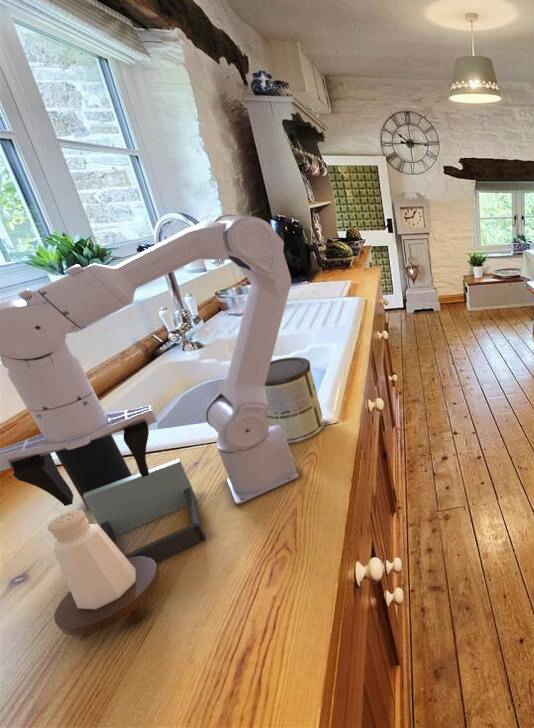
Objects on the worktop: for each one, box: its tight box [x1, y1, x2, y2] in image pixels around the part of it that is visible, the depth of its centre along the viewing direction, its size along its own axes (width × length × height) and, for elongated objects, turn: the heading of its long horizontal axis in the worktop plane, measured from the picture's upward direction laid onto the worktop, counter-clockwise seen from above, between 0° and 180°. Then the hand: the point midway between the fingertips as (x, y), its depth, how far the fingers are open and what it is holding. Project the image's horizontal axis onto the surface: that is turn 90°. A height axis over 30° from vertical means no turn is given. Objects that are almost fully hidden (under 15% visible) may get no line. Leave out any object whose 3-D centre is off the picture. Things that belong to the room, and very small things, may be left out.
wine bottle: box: [54, 434, 133, 509], centre depth 62 cm, size 6×6×30 cm
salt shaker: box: [47, 509, 136, 609], centre depth 46 cm, size 5×5×11 cm
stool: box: [53, 556, 161, 636], centre depth 49 cm, size 9×9×4 cm
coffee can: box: [264, 356, 325, 445], centre depth 82 cm, size 10×10×14 cm
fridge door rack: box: [83, 458, 206, 564], centre depth 58 cm, size 11×11×8 cm
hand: (108, 486), depth 55 cm, fingers open, 7 cm apart
